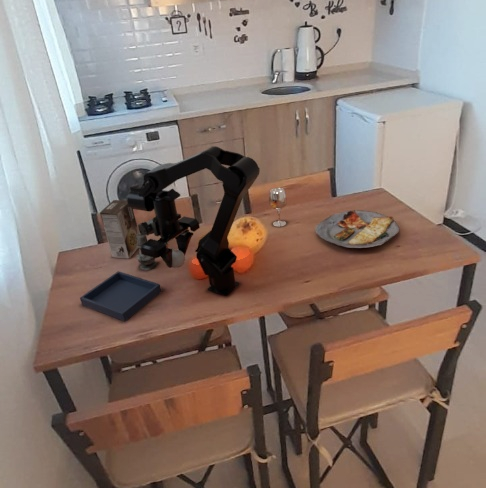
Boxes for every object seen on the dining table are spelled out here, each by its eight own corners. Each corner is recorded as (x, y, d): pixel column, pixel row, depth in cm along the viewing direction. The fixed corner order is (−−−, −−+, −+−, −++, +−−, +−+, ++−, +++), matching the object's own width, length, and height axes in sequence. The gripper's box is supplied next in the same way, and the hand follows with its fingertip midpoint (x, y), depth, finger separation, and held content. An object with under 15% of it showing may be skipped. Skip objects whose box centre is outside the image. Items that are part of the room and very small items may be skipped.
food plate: (347, 210, 161) (347, 200, 159) (411, 227, 146) (412, 217, 144) (302, 239, 146) (302, 229, 145) (368, 262, 131) (368, 251, 130)
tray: (161, 291, 130) (160, 284, 128) (124, 321, 120) (122, 313, 118) (120, 278, 138) (118, 271, 137) (82, 305, 128) (79, 297, 127)
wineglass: (269, 221, 160) (267, 188, 154) (286, 218, 160) (284, 186, 154) (272, 228, 155) (269, 195, 149) (289, 226, 155) (287, 192, 149)
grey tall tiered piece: (153, 271, 139) (145, 235, 133) (135, 270, 141) (126, 235, 135) (160, 260, 144) (153, 226, 138) (143, 260, 146) (134, 226, 140)
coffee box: (125, 243, 156) (113, 199, 148) (142, 244, 155) (131, 199, 147) (111, 257, 149) (98, 212, 141) (129, 258, 147) (117, 212, 139)
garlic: (165, 263, 135) (161, 247, 132) (183, 258, 136) (180, 242, 134) (170, 273, 130) (166, 257, 127) (188, 267, 131) (185, 251, 129)
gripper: (166, 195, 135) (175, 242, 143) (119, 222, 122) (132, 272, 130) (196, 200, 130) (204, 249, 137) (150, 230, 117) (162, 282, 124)
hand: (176, 262), depth 133 cm, fingers closed on garlic, 5 cm apart
